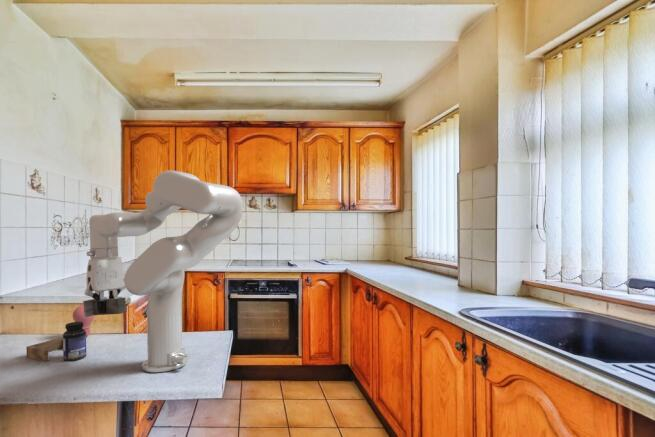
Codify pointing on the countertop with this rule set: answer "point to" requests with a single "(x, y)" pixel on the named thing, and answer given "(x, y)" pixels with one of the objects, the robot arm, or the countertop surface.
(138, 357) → the countertop surface
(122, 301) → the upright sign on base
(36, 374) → the countertop surface
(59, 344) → the bay
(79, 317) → the light bulb
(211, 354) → the countertop surface
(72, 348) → the pill bottle
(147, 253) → the robot arm
